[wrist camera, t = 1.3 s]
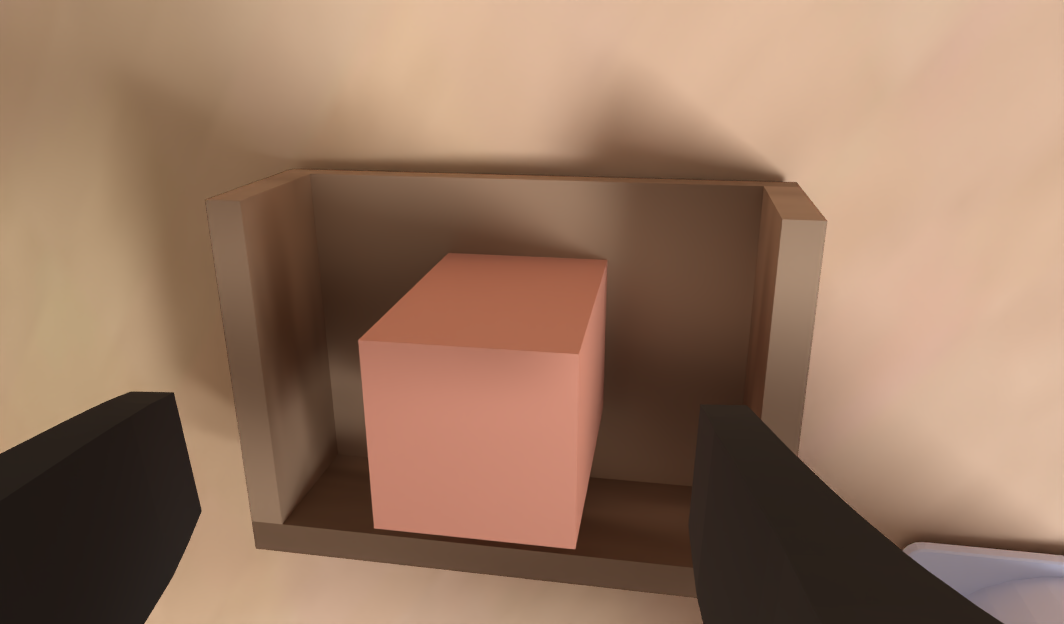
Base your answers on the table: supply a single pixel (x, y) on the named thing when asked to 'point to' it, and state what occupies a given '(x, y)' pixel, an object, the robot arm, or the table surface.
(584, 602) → the table surface
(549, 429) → the block
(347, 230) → the box
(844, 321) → the table surface
